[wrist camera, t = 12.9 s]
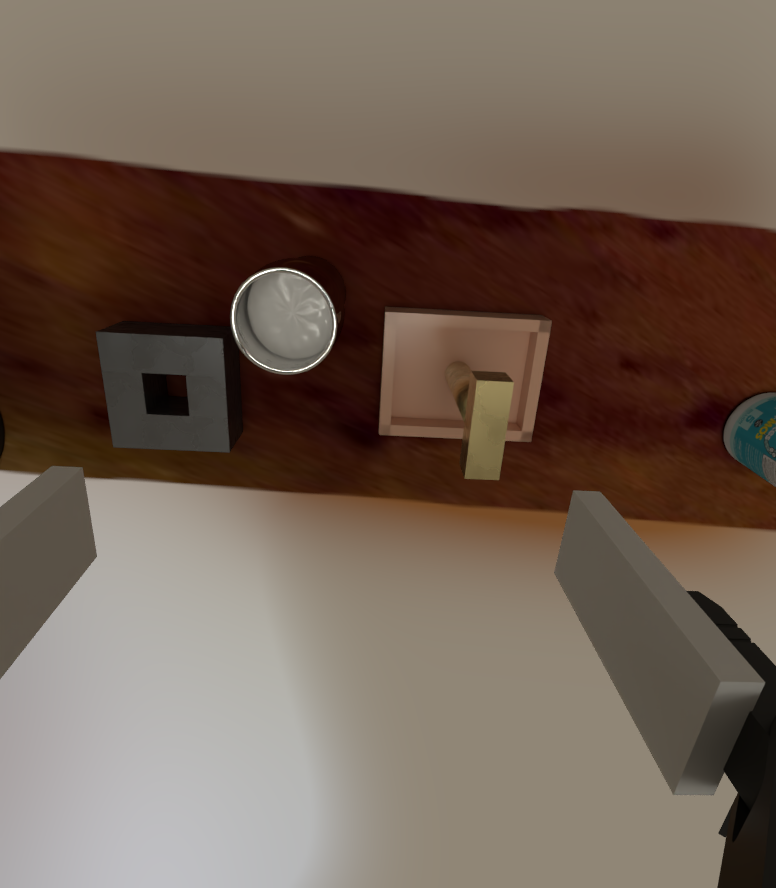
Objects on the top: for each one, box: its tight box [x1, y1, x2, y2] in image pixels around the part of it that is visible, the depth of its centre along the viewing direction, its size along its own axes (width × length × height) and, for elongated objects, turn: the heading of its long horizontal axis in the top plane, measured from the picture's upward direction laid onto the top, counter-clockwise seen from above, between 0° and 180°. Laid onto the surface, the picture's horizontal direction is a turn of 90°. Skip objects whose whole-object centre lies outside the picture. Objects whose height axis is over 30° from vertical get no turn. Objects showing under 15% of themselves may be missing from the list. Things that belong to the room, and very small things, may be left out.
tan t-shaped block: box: [445, 361, 514, 480], centre depth 42 cm, size 7×2×14 cm, turn 177°
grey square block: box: [96, 321, 243, 452], centre depth 47 cm, size 10×10×5 cm
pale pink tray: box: [379, 306, 552, 442], centre depth 48 cm, size 14×11×3 cm
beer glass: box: [230, 256, 346, 375], centre depth 40 cm, size 7×7×15 cm
